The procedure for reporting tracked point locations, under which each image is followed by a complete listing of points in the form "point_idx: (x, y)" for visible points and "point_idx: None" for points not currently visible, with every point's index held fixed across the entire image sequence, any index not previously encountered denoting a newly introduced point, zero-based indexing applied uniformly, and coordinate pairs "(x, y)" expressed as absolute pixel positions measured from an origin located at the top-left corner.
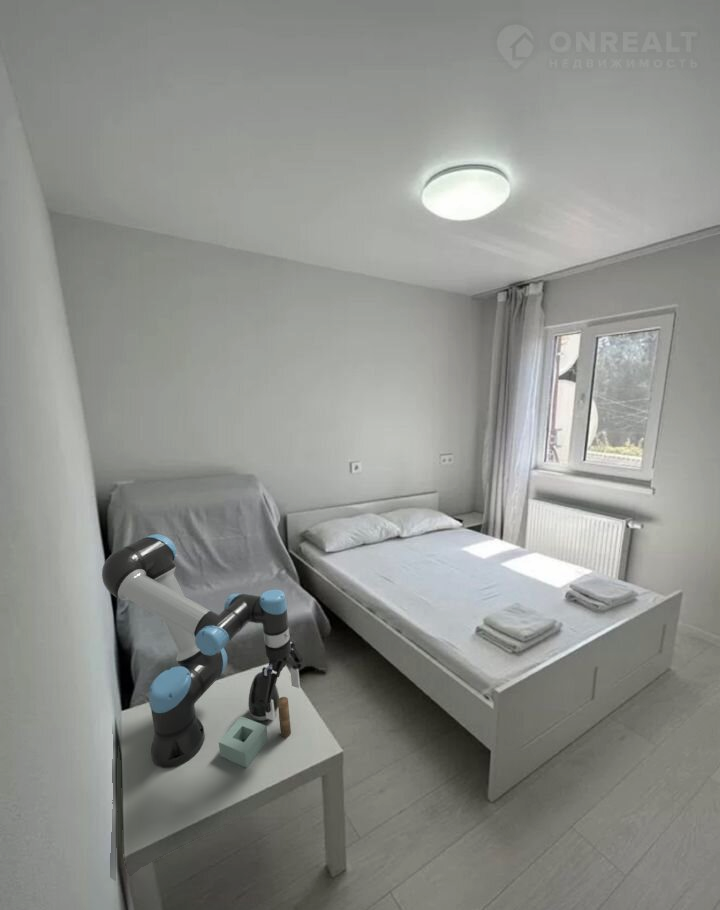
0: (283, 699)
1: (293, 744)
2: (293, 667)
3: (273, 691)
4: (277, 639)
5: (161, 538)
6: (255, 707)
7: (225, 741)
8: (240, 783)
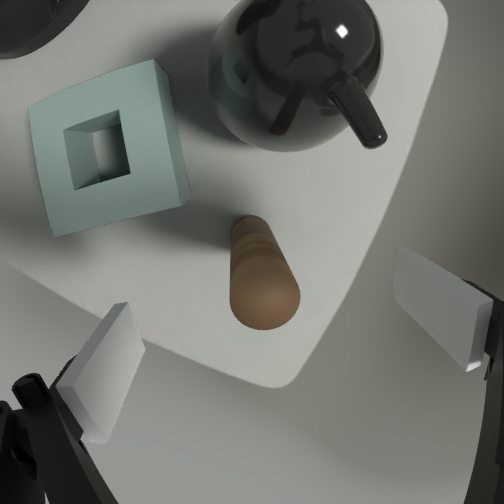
0: (275, 295)
1: None
2: (490, 324)
3: (108, 489)
4: None
5: None
6: (208, 88)
7: (40, 125)
8: (49, 247)
